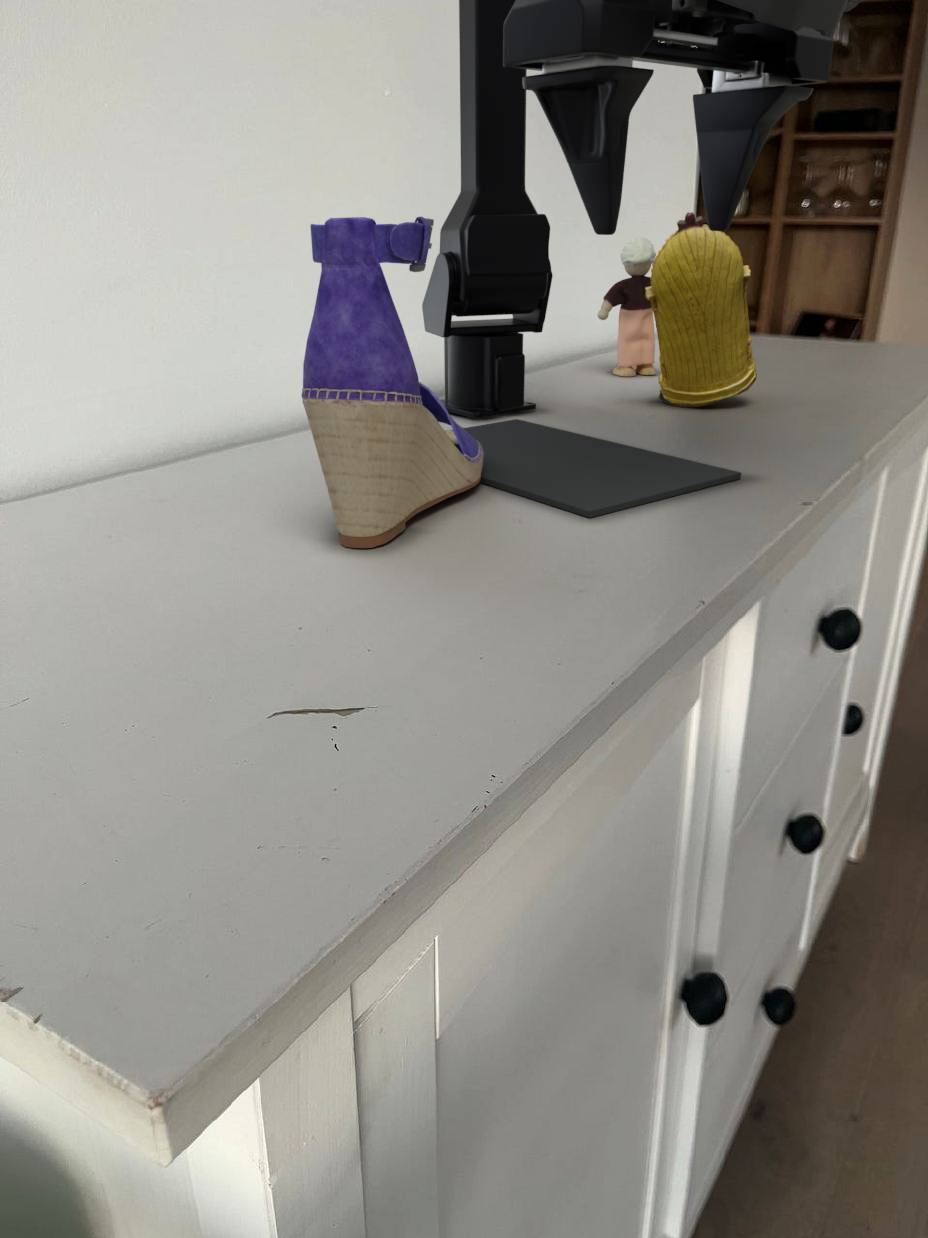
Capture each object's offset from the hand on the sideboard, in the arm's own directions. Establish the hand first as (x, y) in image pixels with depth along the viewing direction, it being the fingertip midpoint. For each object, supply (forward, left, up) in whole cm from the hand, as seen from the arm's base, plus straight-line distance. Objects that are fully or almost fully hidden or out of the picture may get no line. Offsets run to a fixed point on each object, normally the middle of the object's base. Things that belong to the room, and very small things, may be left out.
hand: (664, 232), depth 51 cm
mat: (-9, 0, -14) cm, 17 cm away
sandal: (-8, -12, -14) cm, 20 cm away
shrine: (-15, +23, -14) cm, 31 cm away
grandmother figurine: (-30, +31, -14) cm, 46 cm away
